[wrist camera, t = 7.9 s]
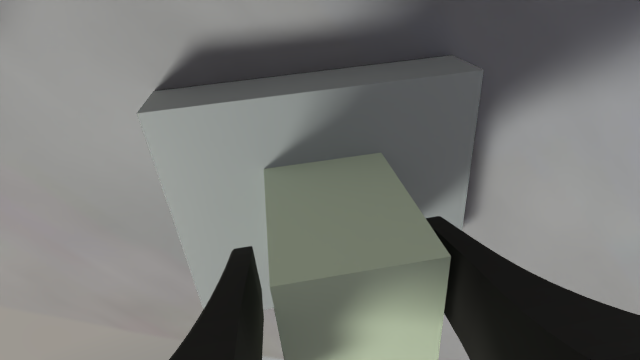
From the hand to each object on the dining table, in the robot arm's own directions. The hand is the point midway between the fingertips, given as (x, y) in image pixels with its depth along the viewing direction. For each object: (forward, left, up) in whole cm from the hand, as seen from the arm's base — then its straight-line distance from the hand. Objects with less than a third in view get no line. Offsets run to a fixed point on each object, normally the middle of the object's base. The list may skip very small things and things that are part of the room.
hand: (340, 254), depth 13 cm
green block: (0, 0, -3) cm, 3 cm away
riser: (0, 0, -5) cm, 5 cm away
